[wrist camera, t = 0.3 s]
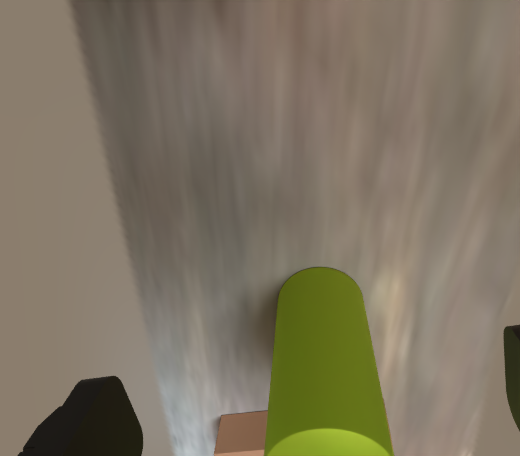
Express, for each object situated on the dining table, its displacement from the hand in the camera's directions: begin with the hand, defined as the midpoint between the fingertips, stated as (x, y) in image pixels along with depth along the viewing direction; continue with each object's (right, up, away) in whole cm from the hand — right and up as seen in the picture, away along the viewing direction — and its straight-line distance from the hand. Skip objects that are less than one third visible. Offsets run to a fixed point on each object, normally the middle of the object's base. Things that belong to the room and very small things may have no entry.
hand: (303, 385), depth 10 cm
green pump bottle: (+4, -2, +23) cm, 23 cm away
